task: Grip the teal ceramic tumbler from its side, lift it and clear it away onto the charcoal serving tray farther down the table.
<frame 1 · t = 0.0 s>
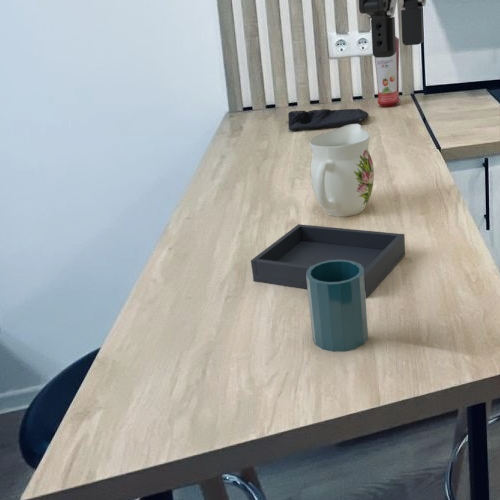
hand: (399, 50, 69), 31 cm above the table, tool pointing down, fingers open, 8 cm apart
folded dark cloth: (328, 124, 184), on the table
pitcher: (342, 213, 117), on the table
liquor: (388, 106, 197), on the table
tumbler: (341, 350, 75), on the table
tray: (330, 267, 96), on the table
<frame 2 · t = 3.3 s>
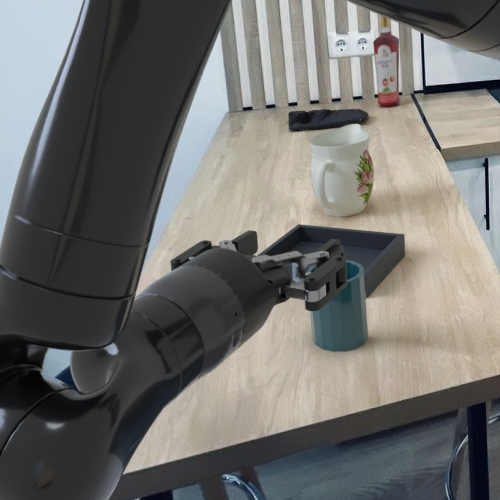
hand: (294, 244, 61), 17 cm above the table, tool horizontal, fingers open, 8 cm apart
nothing on the table moved.
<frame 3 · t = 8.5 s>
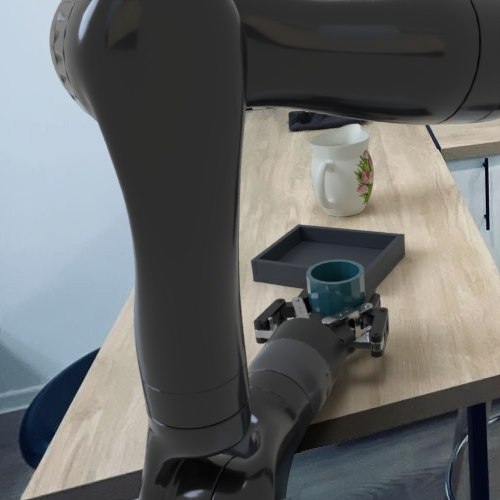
hand: (343, 294, 75), 6 cm above the table, tool horizontal, fingers closed on tumbler, 6 cm apart
tumbler: (341, 350, 75), on the table, touching gripper
everything else where it was.
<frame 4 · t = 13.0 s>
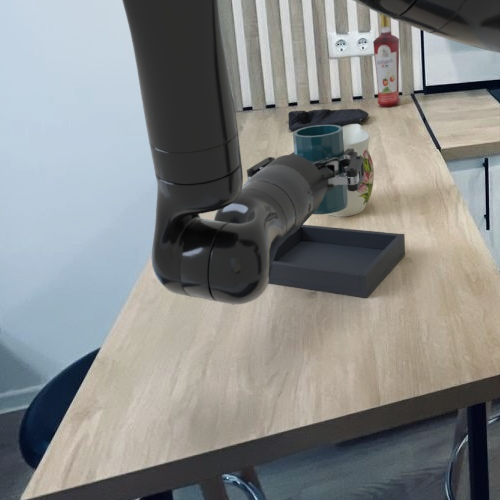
hand: (325, 156, 85), 18 cm above the table, tool horizontal, fingers closed on tumbler, 6 cm apart
tumbler: (324, 206, 86), point 12 cm above the table, touching gripper
everything else where it was.
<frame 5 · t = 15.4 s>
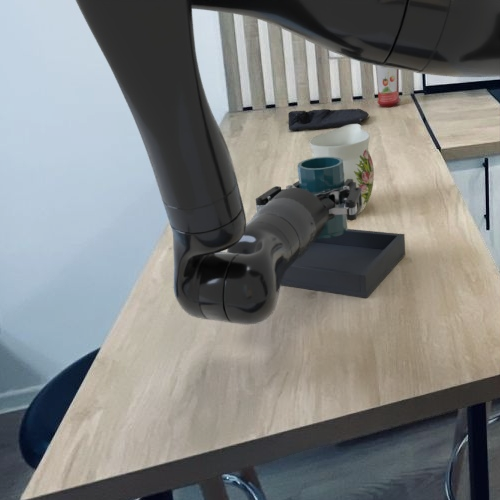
hand: (327, 185, 94), 12 cm above the table, tool horizontal, fingers closed on tumbler, 6 cm apart
tumbler: (325, 230, 94), point 6 cm above the table, touching gripper
everything else where it was.
when the fingers open (7 cm above the table, at t = 17.5 s): tumbler stays where it is, resting on tray.
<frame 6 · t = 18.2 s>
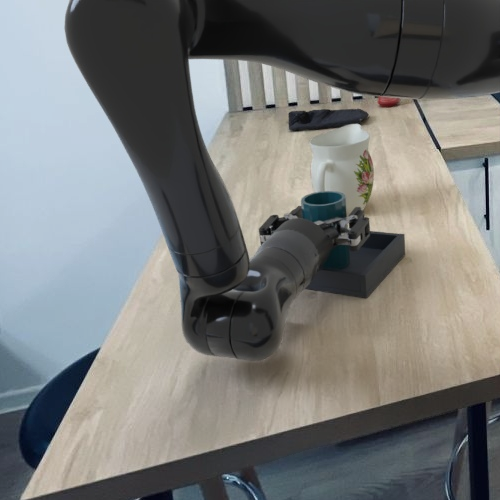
hand: (329, 212, 95), 8 cm above the table, tool horizontal, fingers open, 8 cm apart
tumbler: (328, 262, 96), point 1 cm above the table, touching tray
everything else where it was.
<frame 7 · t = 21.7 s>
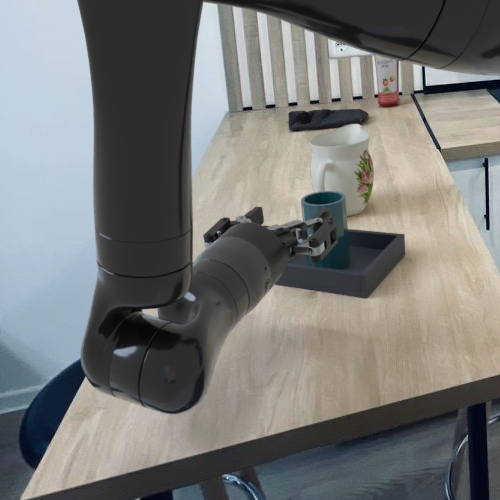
hand: (292, 214, 79), 14 cm above the table, tool horizontal, fingers open, 8 cm apart
nothing on the table moved.
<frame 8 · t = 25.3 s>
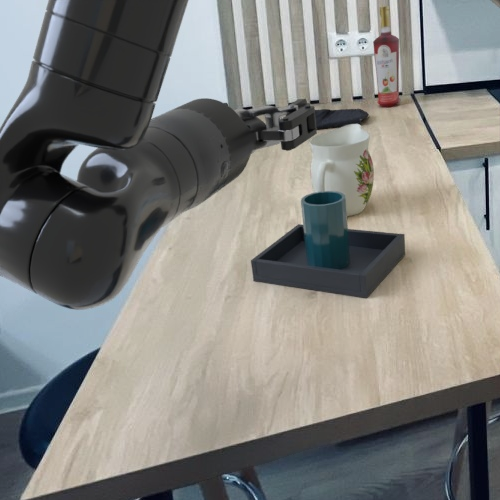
hand: (264, 111, 66), 28 cm above the table, tool horizontal, fingers open, 8 cm apart
nothing on the table moved.
at the end: tumbler inside the target area in the tray (0.1 cm from its centre), point 0.8 cm above the tray's base; tumbler tilted 0°; the gripper is holding nothing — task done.
